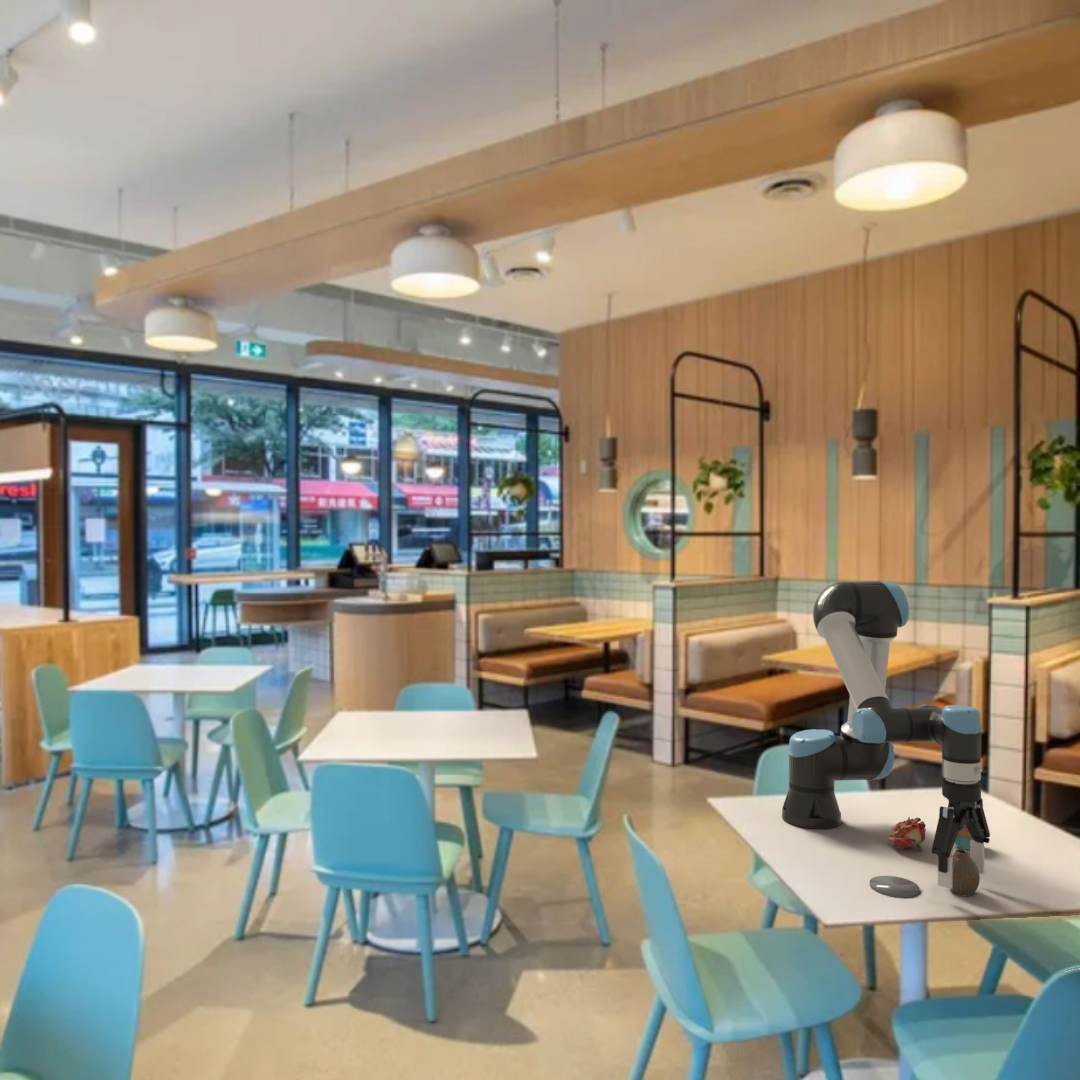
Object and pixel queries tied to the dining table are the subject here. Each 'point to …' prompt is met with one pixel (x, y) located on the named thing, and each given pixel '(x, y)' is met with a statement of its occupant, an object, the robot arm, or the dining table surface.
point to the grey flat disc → (894, 886)
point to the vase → (964, 874)
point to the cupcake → (964, 838)
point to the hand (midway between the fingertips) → (961, 879)
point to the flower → (908, 833)
